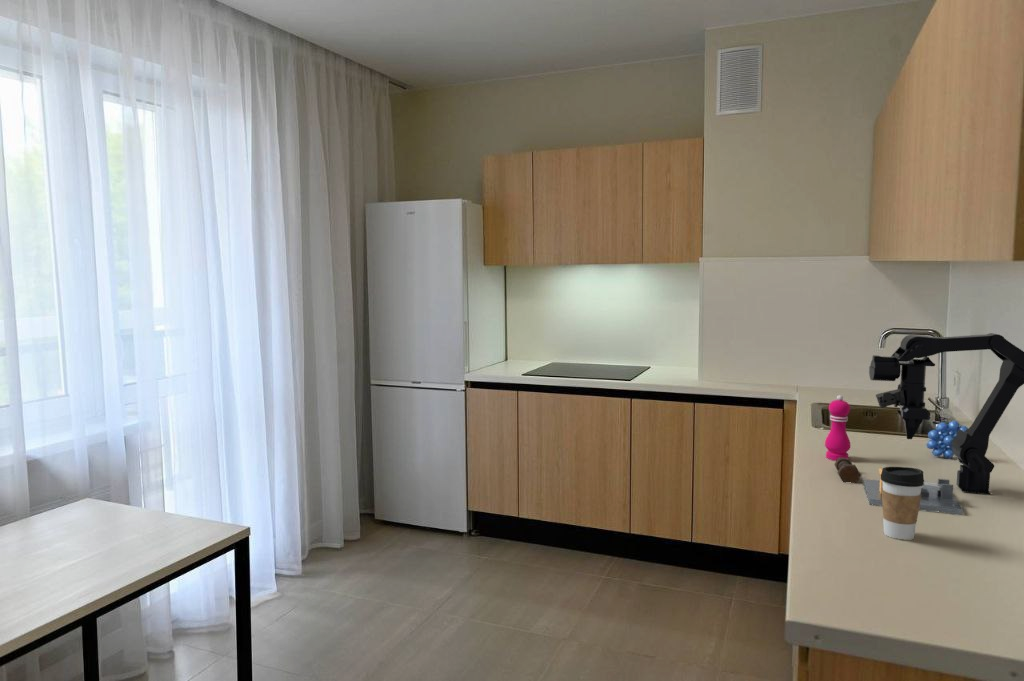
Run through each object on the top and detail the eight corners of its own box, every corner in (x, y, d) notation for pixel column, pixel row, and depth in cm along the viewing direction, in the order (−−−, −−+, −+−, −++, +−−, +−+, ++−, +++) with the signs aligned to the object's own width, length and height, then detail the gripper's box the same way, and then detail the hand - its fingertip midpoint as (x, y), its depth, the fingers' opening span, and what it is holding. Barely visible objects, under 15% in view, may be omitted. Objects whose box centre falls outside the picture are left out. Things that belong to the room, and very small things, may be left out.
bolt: (843, 474, 207) (851, 488, 193) (828, 465, 208) (834, 477, 194) (855, 458, 206) (864, 471, 192) (839, 449, 207) (847, 460, 193)
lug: (895, 488, 182) (896, 470, 182) (898, 495, 177) (899, 476, 176) (878, 487, 184) (879, 468, 183) (880, 493, 178) (881, 474, 178)
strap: (948, 488, 178) (948, 484, 178) (950, 492, 175) (951, 488, 175) (886, 479, 183) (887, 476, 183) (888, 483, 181) (888, 479, 180)
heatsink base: (946, 492, 184) (948, 474, 184) (962, 515, 168) (963, 494, 167) (862, 484, 192) (863, 466, 191) (869, 504, 175) (870, 485, 174)
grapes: (966, 456, 219) (969, 419, 218) (970, 462, 213) (973, 423, 212) (923, 453, 224) (926, 416, 223) (926, 458, 218) (929, 420, 217)
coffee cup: (919, 545, 149) (924, 477, 148) (875, 537, 154) (879, 471, 152) (921, 532, 156) (925, 467, 155) (878, 525, 161) (882, 462, 159)
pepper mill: (824, 460, 215) (827, 396, 213) (823, 454, 222) (826, 392, 220) (850, 462, 213) (853, 398, 211) (848, 456, 219) (852, 394, 217)
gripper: (875, 375, 199) (872, 429, 201) (883, 385, 182) (879, 444, 183) (919, 377, 195) (916, 432, 196) (932, 388, 178) (928, 448, 179)
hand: (909, 438), depth 189 cm, fingers closed
